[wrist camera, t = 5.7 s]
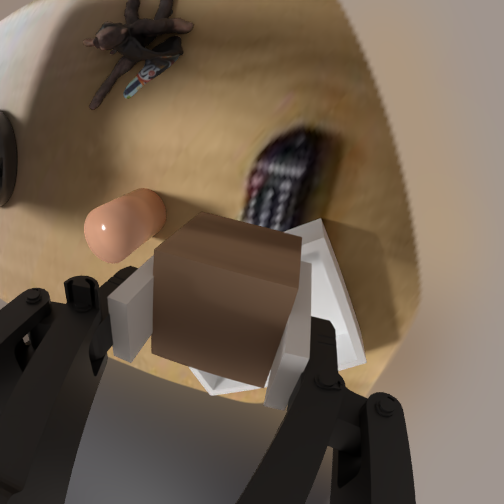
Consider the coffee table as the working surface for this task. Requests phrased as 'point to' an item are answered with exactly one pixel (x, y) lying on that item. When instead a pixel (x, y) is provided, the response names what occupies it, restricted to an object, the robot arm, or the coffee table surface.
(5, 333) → the robot arm
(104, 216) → the round-ended peach cylinder
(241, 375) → the walnut cube
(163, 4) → the dark brown branched piece
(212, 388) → the tote
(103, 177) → the coffee table surface
